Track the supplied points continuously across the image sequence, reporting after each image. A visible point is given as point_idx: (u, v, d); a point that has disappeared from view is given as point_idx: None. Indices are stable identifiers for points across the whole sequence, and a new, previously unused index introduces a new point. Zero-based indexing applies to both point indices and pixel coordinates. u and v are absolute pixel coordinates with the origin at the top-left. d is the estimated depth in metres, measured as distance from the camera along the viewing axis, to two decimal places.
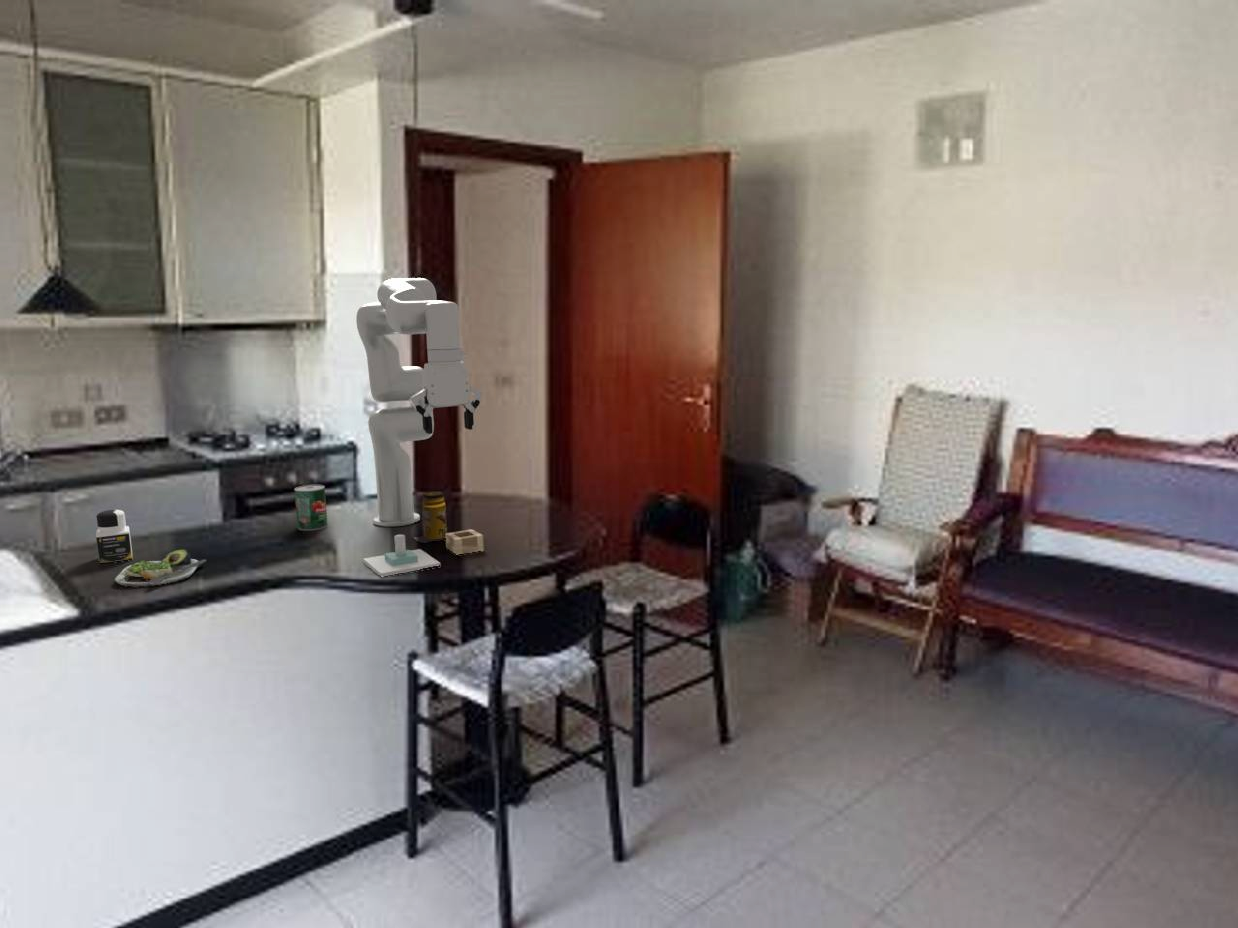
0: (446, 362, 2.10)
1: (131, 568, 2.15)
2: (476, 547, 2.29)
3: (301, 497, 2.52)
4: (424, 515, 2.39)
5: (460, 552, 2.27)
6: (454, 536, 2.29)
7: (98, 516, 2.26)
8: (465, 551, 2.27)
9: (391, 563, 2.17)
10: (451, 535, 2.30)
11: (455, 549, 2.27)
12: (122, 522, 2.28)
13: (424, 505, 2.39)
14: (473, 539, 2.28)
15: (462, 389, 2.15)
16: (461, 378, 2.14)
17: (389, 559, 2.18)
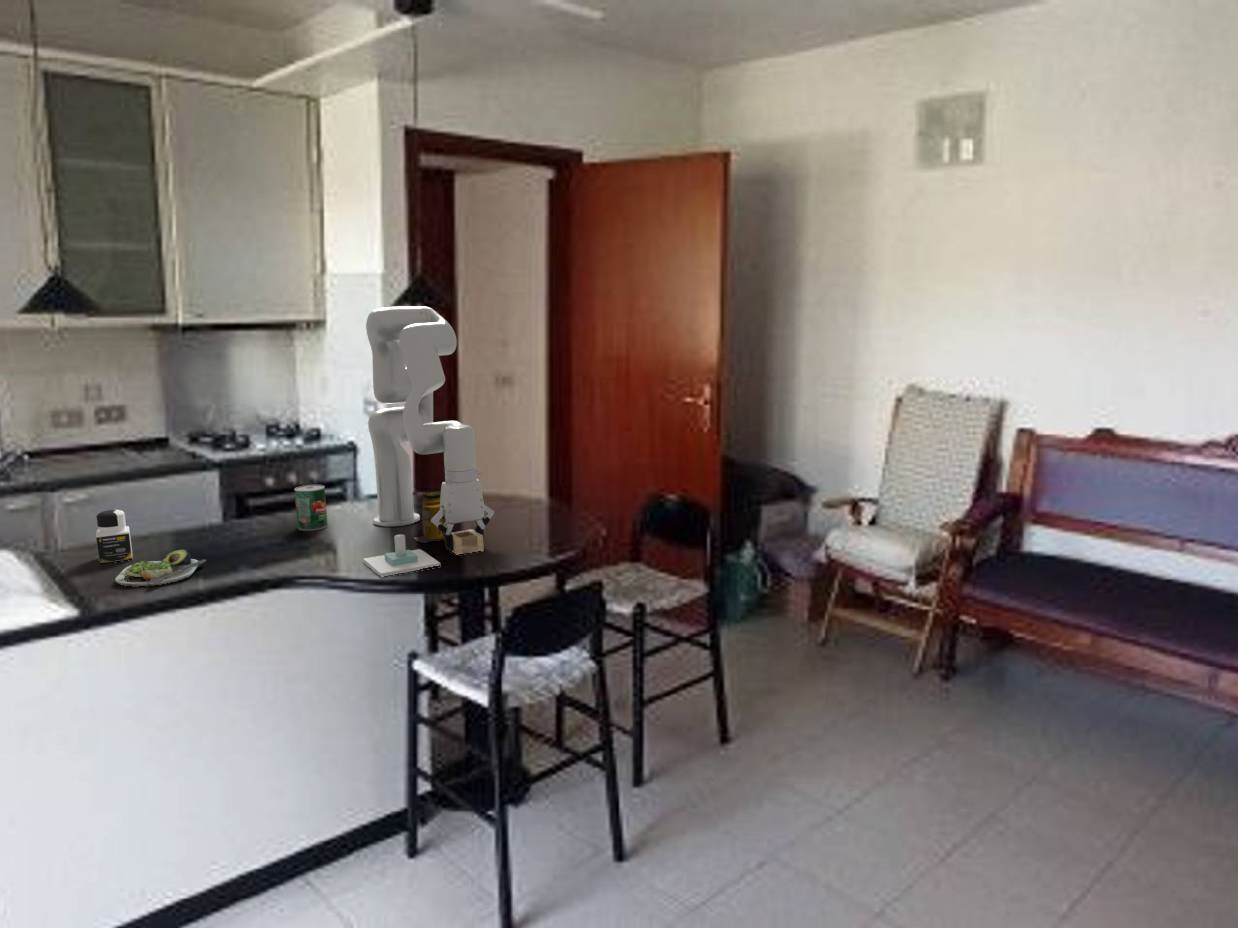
0: (462, 483, 2.24)
1: (131, 568, 2.15)
2: (476, 547, 2.29)
3: (301, 497, 2.52)
4: (424, 515, 2.39)
5: (460, 552, 2.27)
6: (454, 536, 2.29)
7: (98, 516, 2.26)
8: (465, 551, 2.27)
9: (391, 563, 2.17)
10: None
11: (455, 549, 2.27)
12: (122, 522, 2.28)
13: (424, 505, 2.39)
14: (473, 539, 2.28)
15: (477, 506, 2.29)
16: (476, 495, 2.28)
17: (389, 559, 2.18)
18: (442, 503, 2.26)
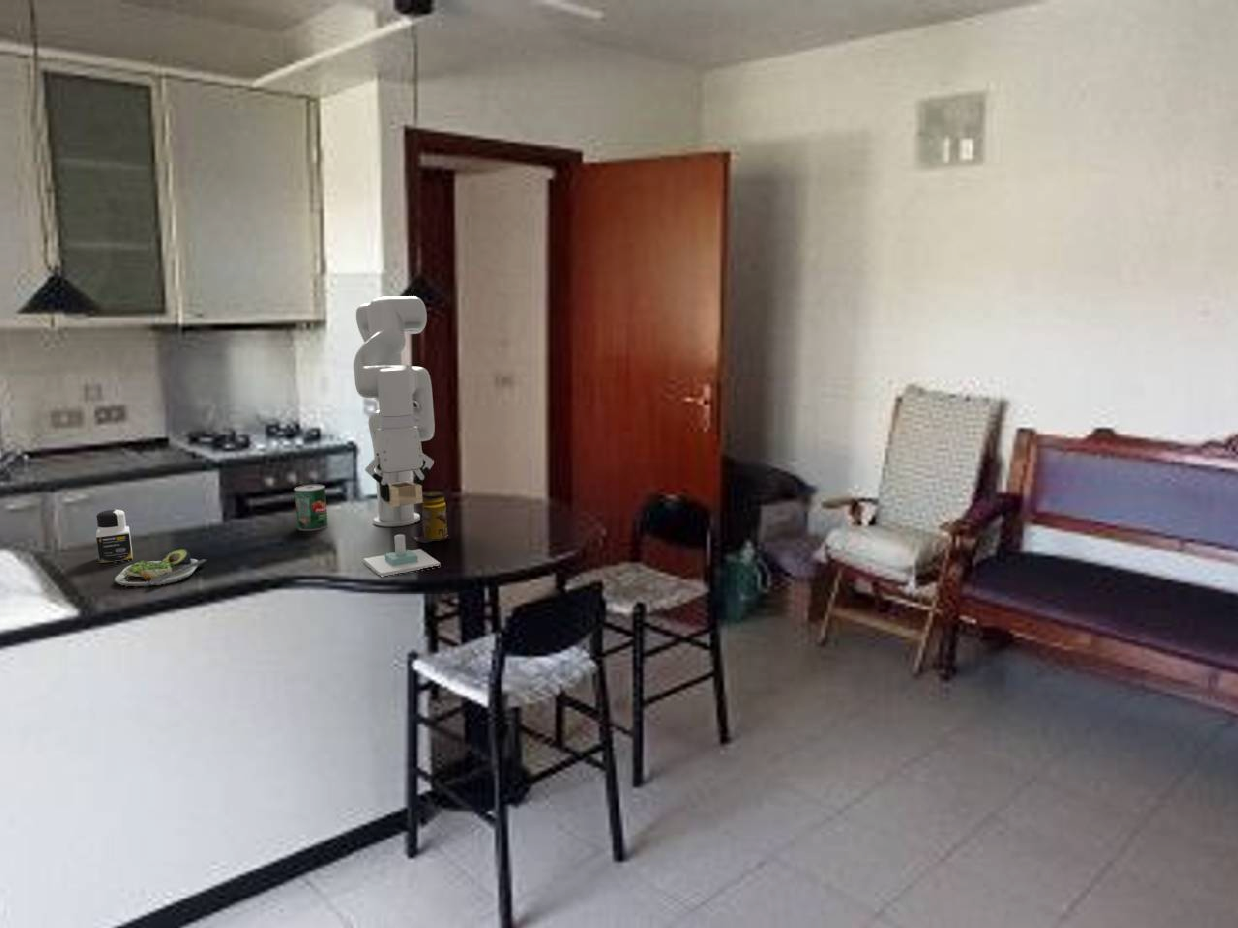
0: (398, 429, 2.11)
1: (131, 567, 2.15)
2: (414, 498, 2.16)
3: (301, 497, 2.52)
4: (424, 515, 2.39)
5: (397, 503, 2.14)
6: (391, 486, 2.15)
7: (98, 516, 2.26)
8: (402, 502, 2.14)
9: (391, 563, 2.17)
10: None
11: (391, 500, 2.14)
12: (122, 522, 2.28)
13: (424, 505, 2.39)
14: (410, 490, 2.15)
15: (415, 454, 2.16)
16: (414, 443, 2.15)
17: (389, 559, 2.18)
18: (377, 451, 2.13)
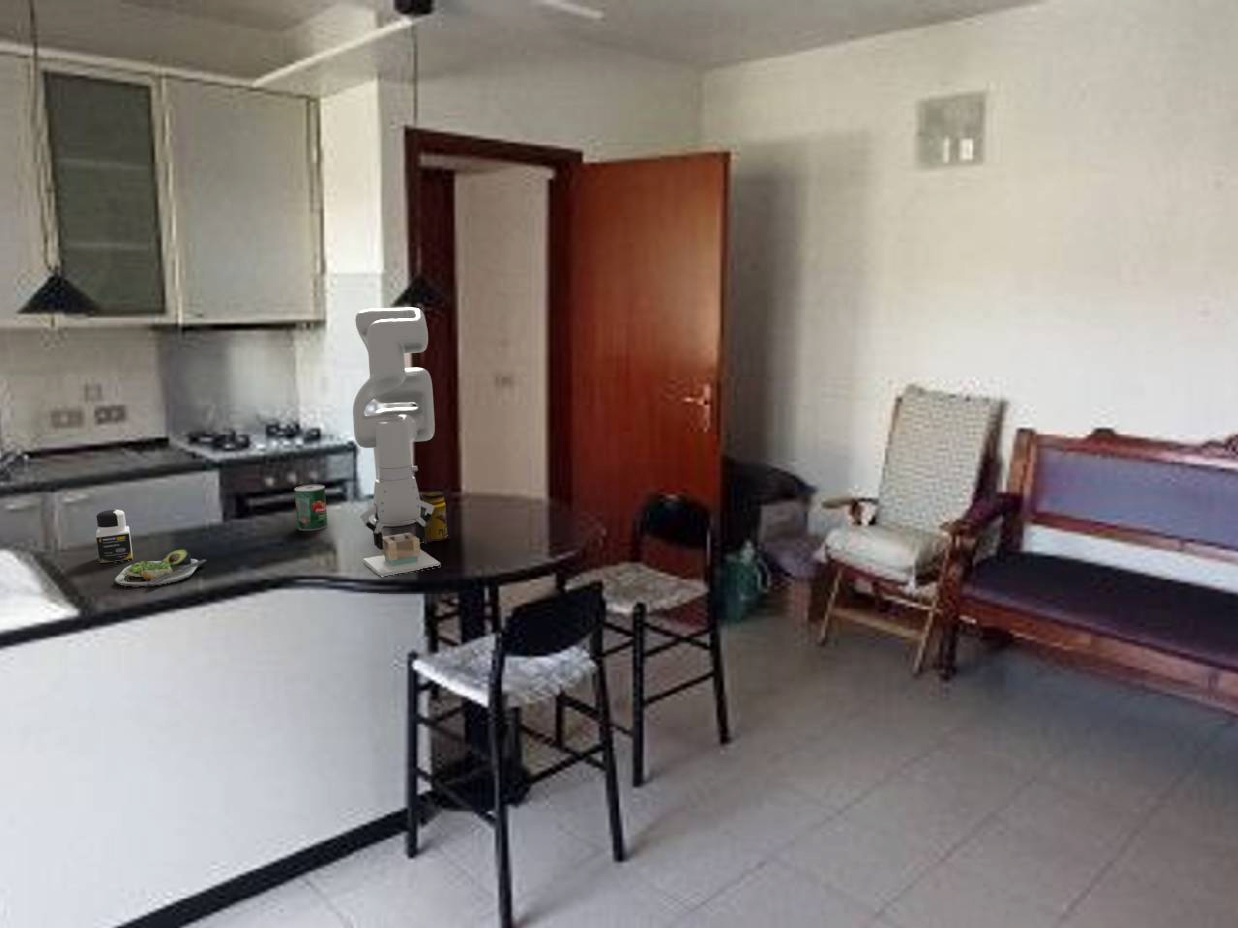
0: (396, 480, 2.13)
1: (131, 568, 2.15)
2: (412, 552, 2.17)
3: (301, 497, 2.52)
4: None
5: (395, 557, 2.15)
6: (389, 540, 2.17)
7: (98, 516, 2.26)
8: (400, 556, 2.16)
9: (391, 563, 2.17)
10: (386, 539, 2.18)
11: (389, 554, 2.15)
12: (122, 522, 2.28)
13: None
14: (408, 543, 2.17)
15: (413, 505, 2.17)
16: (411, 494, 2.16)
17: None
18: (375, 502, 2.15)
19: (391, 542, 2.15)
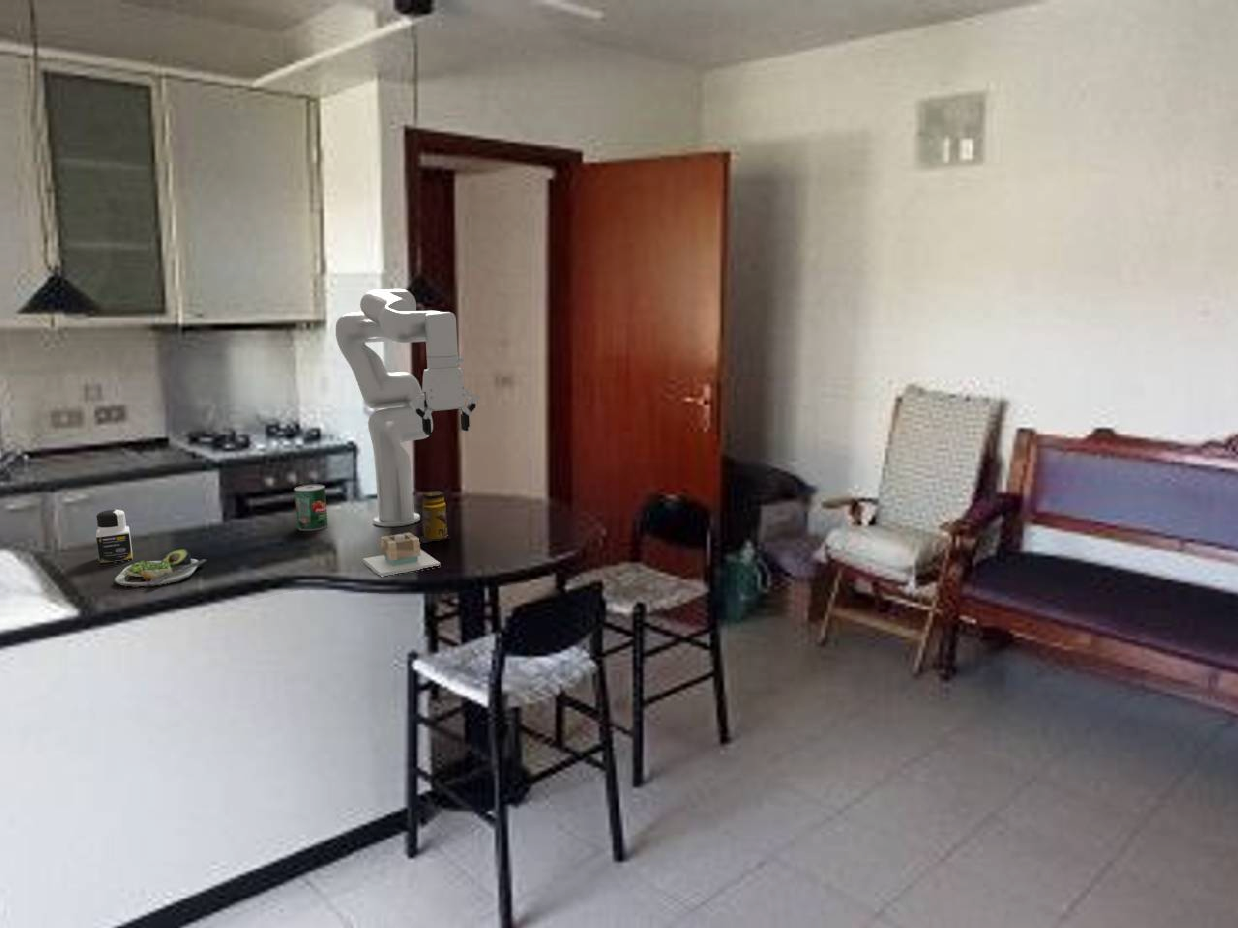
0: (444, 368, 2.26)
1: (131, 568, 2.15)
2: (412, 552, 2.17)
3: (301, 497, 2.52)
4: (424, 515, 2.39)
5: (395, 557, 2.15)
6: (389, 540, 2.17)
7: (98, 516, 2.26)
8: (400, 556, 2.16)
9: (391, 563, 2.17)
10: (386, 539, 2.18)
11: (389, 554, 2.15)
12: (122, 522, 2.28)
13: (424, 505, 2.39)
14: (408, 543, 2.17)
15: (459, 393, 2.30)
16: (458, 383, 2.30)
17: None
18: (424, 390, 2.28)
19: (391, 542, 2.15)
